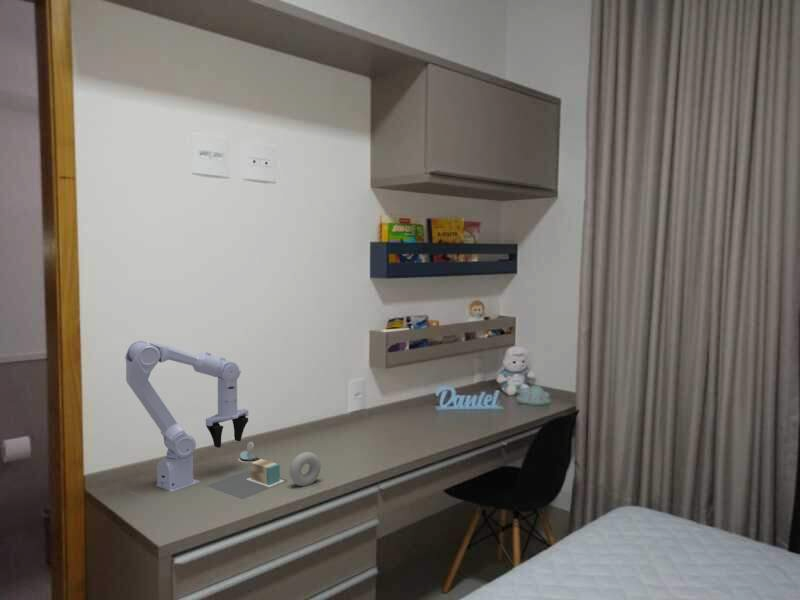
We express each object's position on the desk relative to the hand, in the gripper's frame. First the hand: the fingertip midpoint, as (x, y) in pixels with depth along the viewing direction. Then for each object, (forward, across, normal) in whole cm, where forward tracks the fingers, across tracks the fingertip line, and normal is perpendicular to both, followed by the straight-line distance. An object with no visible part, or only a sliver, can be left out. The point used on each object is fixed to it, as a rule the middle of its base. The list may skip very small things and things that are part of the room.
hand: (227, 443), depth 181 cm
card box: (+9, +2, -14) cm, 17 cm away
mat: (+9, -2, -12) cm, 15 cm away
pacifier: (+10, +11, +4) cm, 15 cm away
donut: (+10, +7, -26) cm, 28 cm away
